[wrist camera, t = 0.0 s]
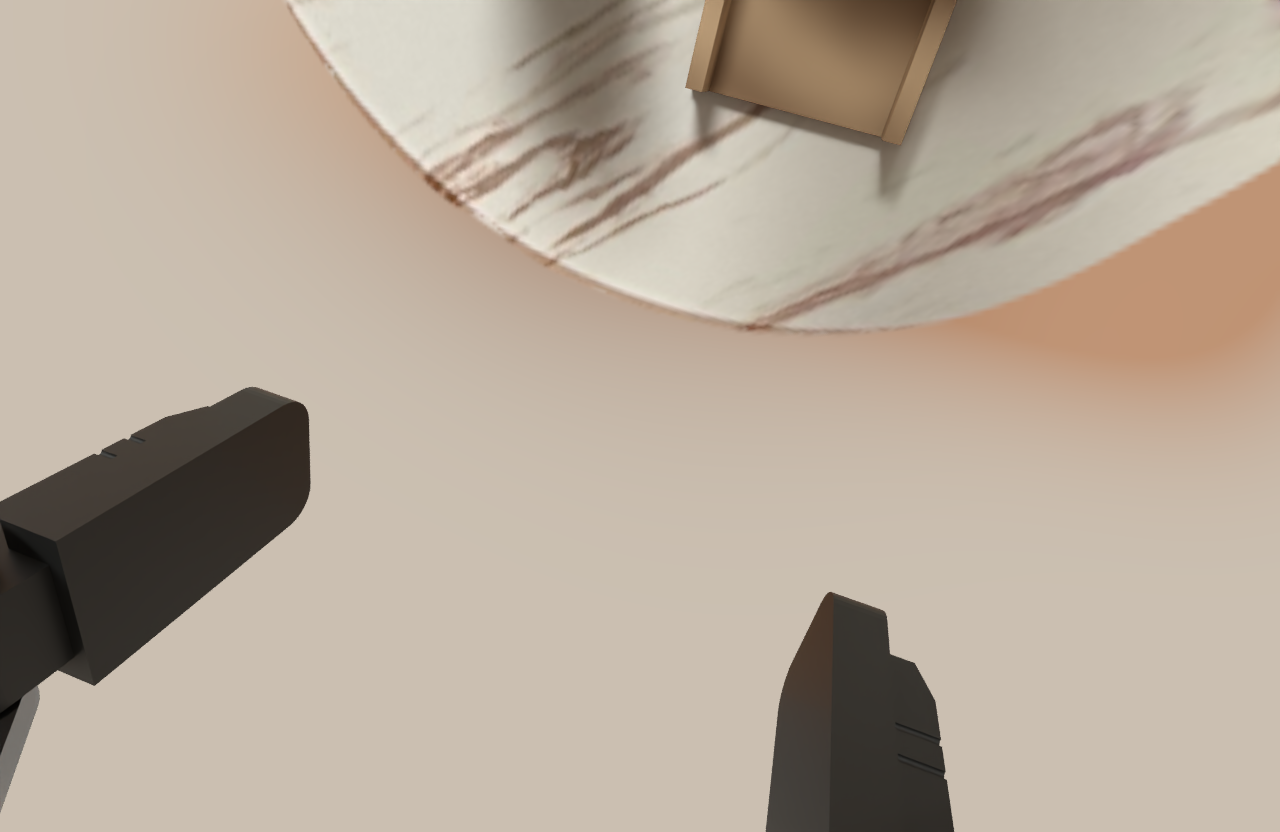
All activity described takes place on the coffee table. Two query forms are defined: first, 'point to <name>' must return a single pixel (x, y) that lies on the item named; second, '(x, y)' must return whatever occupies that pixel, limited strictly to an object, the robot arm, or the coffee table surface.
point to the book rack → (822, 57)
